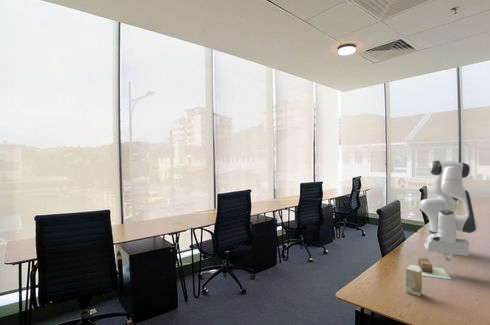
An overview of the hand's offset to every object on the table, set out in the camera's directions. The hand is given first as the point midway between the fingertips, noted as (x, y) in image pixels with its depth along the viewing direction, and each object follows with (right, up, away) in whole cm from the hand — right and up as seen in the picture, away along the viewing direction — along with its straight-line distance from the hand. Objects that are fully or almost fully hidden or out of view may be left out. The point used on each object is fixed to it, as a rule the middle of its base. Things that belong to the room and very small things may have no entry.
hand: (447, 260), depth 156 cm
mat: (-11, -7, 0) cm, 13 cm away
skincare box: (-36, -7, -25) cm, 44 cm away
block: (-9, -4, +9) cm, 13 cm away
